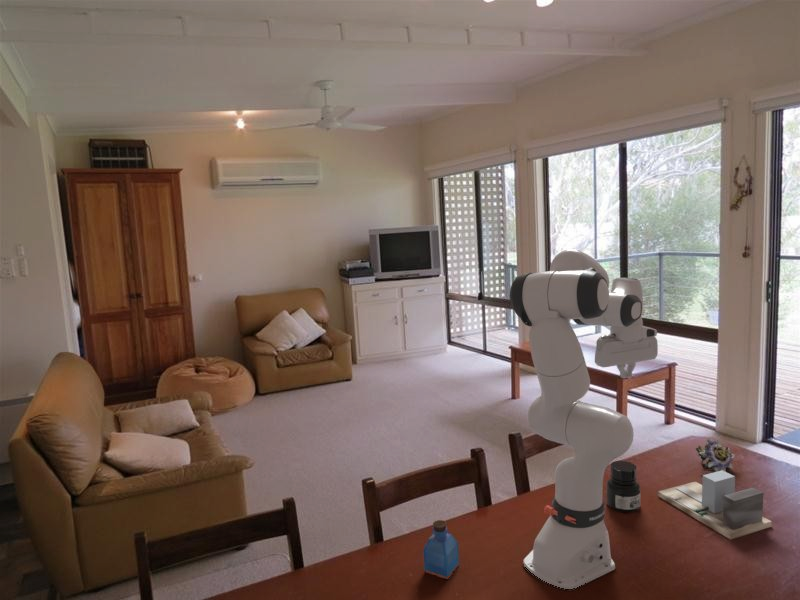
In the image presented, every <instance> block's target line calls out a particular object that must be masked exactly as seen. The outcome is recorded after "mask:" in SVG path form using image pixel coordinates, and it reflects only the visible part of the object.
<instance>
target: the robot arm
mask: <svg viewBox="0 0 800 600" xmlns="http://www.w3.org/2000/svg"><path fill="white" fill-rule="evenodd" d="M609 288H610V277H609V275H608V273H607V270H606V269H605V268H604V267H603V266H602V265H601V264H600V262H599V261H597V260H596V258H593V257H592V256H590V255H589V254H587V253H586V252H583V251H581V250H578V249H572V248H571V249H569V248H568V249H565V250H562V251H561V252H559V253H557V254H556V255H555V256H554V257H553V259H552V260H551V263H550V268H549V270H547V271H541V272H540V271H539V272H534V273H533V272H529V273H524V274H520V275H519V276H516V277H515V278H514V280H513V282H512V283H511V286H510V290H509V300H510V305H511V307H512V309H513V311H514V313H515V314H516V315H517V316H518V318H519V319H520V321H521V323H523V324H524V325H525V326H527V327H530V329H529V332H528V340H529V349H530V355H531V356H530V357H531V359H532V363H533V365H534V370H535V373H536V376H537V379H538V383H539V387H540V392H541V393H540V396H538V397H537V398H535V399H534V400H533V402H532V403H531V404H530V406H529V409H528V412H527V423H528V426H529V428H530V430H531V432H533V433H534V434H537V435H539V436H540V437H541V438H543V439H546V440H548V441H550V442H554V443H557V444H561V445H565V446H567V447H571V448H572V449H574V456H570V457H567V458H564V459H563V460H562V461H560V462H559V463H558V464H557V466H556V468H555V471H554V484H555V485H554V488H555V489H554V490H555V492H554V493H555V494H554V496H553V500H552V503H551V506H550V505H549V504H548V505H545V506H544V511H543V512H544V514H547V515H549V516H548V519H547V520H546V521H545V523H544V525H542V527H541V530H540V531H539V533H538V534H537V536H536V537H535V540H534V542H533V549H532V550H531V551H530V552H529V553H528V554H527V555H526V556H525V558H523V560H522V561H523V562H522V564H524V565H523V567H524V568H525V567H526V568H527V569H528V570H529V571H530V572H531V573H533V574H534V575H535V576H537V577H538V578H537V577H536V578H537V579H539V578H540V579H541V580H540V579H539V580H540V581H542V580H543V581H542V582H544V581H545V582H544V583H546V582H547V583H546V584H548V583H549V584H548V585H550V584H552V585H554V586H553V587H555V586H557V587H556V588H558V587H560V588H559V589H561V588H564V589H563V590H565V589H573V588H575V589H577V587H578V588H579V586H580V587H582V586H584V585H586V584H588V583H590V582H592V581H594V580H596V579H597V578H600V577H602V576H604V575H607V574H609V573H610V572H612V571H615V569H616V564H615V562H614V560H613V559H612V556H611V545H610V543H611V542H610V535H609V534H610V533H609V531H608V528H607V527H606V524H605V521H604V519H605V512H606V506H605V501H604V499H603V493H604V492H603V491H604V489H603V488H604V477H605V472H606V470H607V467H608V466H609V464H611V463H612V462H613V460H616V459H617V458H619V457H621V456H623V455H624V454H625V453H627V452H628V450H629V449H630V448H631V446H632V443H633V441H634V436H635V435H634V427H633V424H632V422H631V420H630V419H629V417H628V416H627V415H624V414H622V413H621V412H618V411H617V410H614V409H611V408H609V407H604V406H601V405H596V404H593V403H587V402H583V401H581V399H582V398H583V397H585V395H586V394H587V393H588V391H589V389H590V385H591V378H590V374H589V371H588V367H587V363H586V360H585V356H584V353H583V350H582V346H581V343H580V341H579V339H578V336H577V334H576V333H575V331H574V328H573V327H572V325H571V324H570V320H572V321H573V322H574V323H576V325H579V326H589V325H590V326H602V327H610V329H609V330H610V332H609V333H610V334H606V335H605V334H603V335H601V336H600V337H598V338H597V340H596V343H595V344H596V345H595V351H594V364H595V365H596V366H598V367H601V368H609V367H615V366H616V367H617V369H618V371H619V376H620V378H621V379H627V378H632V377H633V372H634V369H635V368H636V364H637V363H639V362H644V361H645V362H646V361H652V360H655V359H656V358H657V356H658V350H659V349H658V347H659V345H658V339H657V337H656V336H657V335H658V331H657V330H658V329H655V328H653V327H649V326H646V325H644V321H643V318H642V314H643V313H642V312H643V309H644V302H643V301H644V300H643V299H644V296H643V287H642V282H641V280H639V279H638V278H632V277H616V278H614V279H612V282H611V290H609ZM626 365H627V368H626ZM625 368H626V369H625ZM526 568H525V569H526ZM527 569H526V570H527ZM528 570H527V571H528ZM529 571H528V572H529ZM530 572H529V573H530ZM531 573H530V574H531ZM533 574H532V575H533ZM534 575H533V576H534ZM535 576H534V577H535ZM585 583H586V584H585ZM552 585H551V586H552ZM581 585H582V586H581ZM573 590H574V589H573Z"/></svg>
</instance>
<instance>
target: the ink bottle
mask: <svg viewBox="0 0 800 600" xmlns="http://www.w3.org/2000/svg"><path fill="white" fill-rule="evenodd" d="M606 504H607V506H608V507H609V508H611V509H612V510H615V511H617V512H620V513H634V512H636V511H638V510H640V508H641V485H640V483H639V481H637V466H636V465H635V463H632V462H630V461H626V460H615V461H611V462H610V478H608V480H607V481H606Z"/></svg>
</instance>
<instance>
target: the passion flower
mask: <svg viewBox="0 0 800 600" xmlns="http://www.w3.org/2000/svg"><path fill="white" fill-rule="evenodd" d="M706 441H707V443H705V444H704V446H703V445H698V447H696V448H695V451H696V452H697V453H698V457H700V459H701V464H702V463H703V464H704V461H705V460H706V459H708V460H707V461H706V462H705V467H706V468H708V469H710V468H711V469H712V471H713V473H714V472H718V471H721V470H723V471H725V472H727V471H726V470H727V468H728V469H730V470H733V469H734V468H733V459H734V458H735V456H736V455H735V454H734V453H732V452H731V451H730V447H728V446H725V445H724V444H723V443H721V439H719V440H717V441H716V440H715V441H713V440H712V439H711V438H710V437H706ZM702 448H703V449H702Z"/></svg>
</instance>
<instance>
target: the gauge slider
mask: <svg viewBox="0 0 800 600" xmlns="http://www.w3.org/2000/svg"><path fill="white" fill-rule="evenodd" d="M701 485H702V507H704V508H701V509H697V510H696V512H697V513H699V512H702V511H706V510H709V511H711V512H713V513H717V512H721V511H723V506H724V495H728V494H731V493H735V492H736V491H735V490H736V488H735V487H736V476H735V475H733V474H731V473H729V472H727V471H726V472H725V471H723V470H721V471H718V472H714V471H713V472H710V473H706V474H703V475H702V482H701Z"/></svg>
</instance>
